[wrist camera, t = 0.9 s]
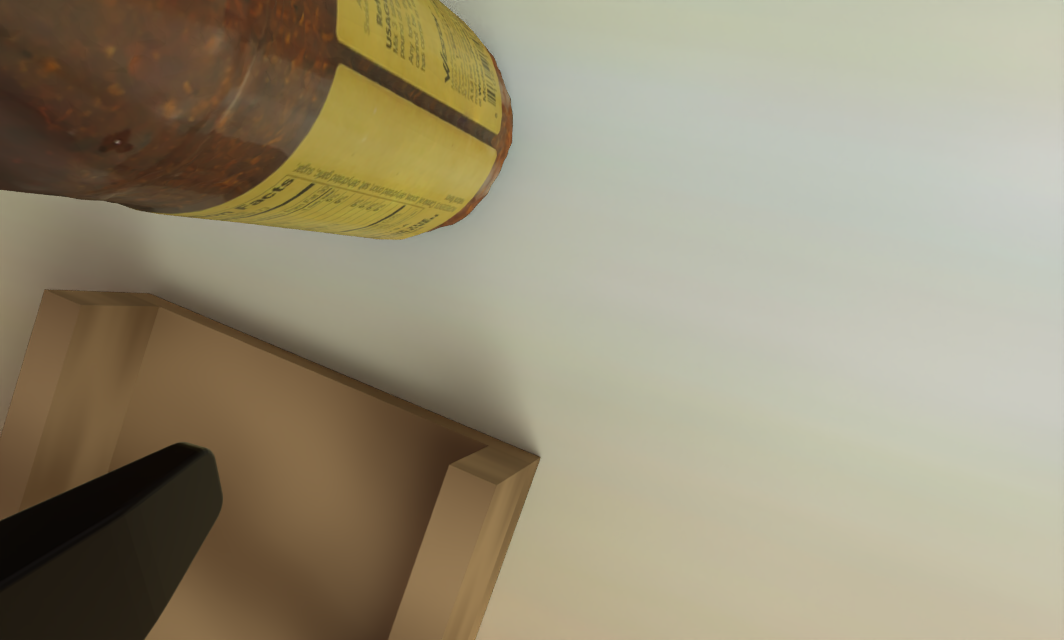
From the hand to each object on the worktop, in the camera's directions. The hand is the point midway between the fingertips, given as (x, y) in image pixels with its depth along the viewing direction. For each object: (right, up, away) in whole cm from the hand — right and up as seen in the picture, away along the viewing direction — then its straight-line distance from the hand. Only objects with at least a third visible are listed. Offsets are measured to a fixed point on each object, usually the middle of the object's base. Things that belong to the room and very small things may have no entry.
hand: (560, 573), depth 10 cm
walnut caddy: (-8, -5, +16) cm, 18 cm away
